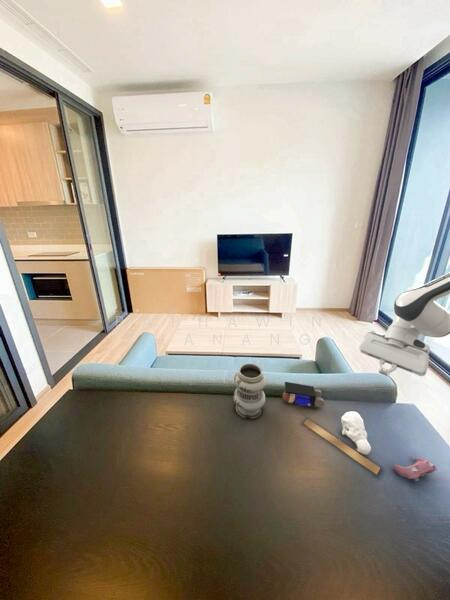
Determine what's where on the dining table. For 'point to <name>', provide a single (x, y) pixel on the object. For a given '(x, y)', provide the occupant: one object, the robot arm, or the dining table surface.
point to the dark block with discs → (302, 395)
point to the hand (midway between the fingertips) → (383, 374)
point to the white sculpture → (356, 431)
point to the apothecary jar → (249, 390)
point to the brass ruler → (343, 447)
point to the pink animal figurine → (416, 469)
